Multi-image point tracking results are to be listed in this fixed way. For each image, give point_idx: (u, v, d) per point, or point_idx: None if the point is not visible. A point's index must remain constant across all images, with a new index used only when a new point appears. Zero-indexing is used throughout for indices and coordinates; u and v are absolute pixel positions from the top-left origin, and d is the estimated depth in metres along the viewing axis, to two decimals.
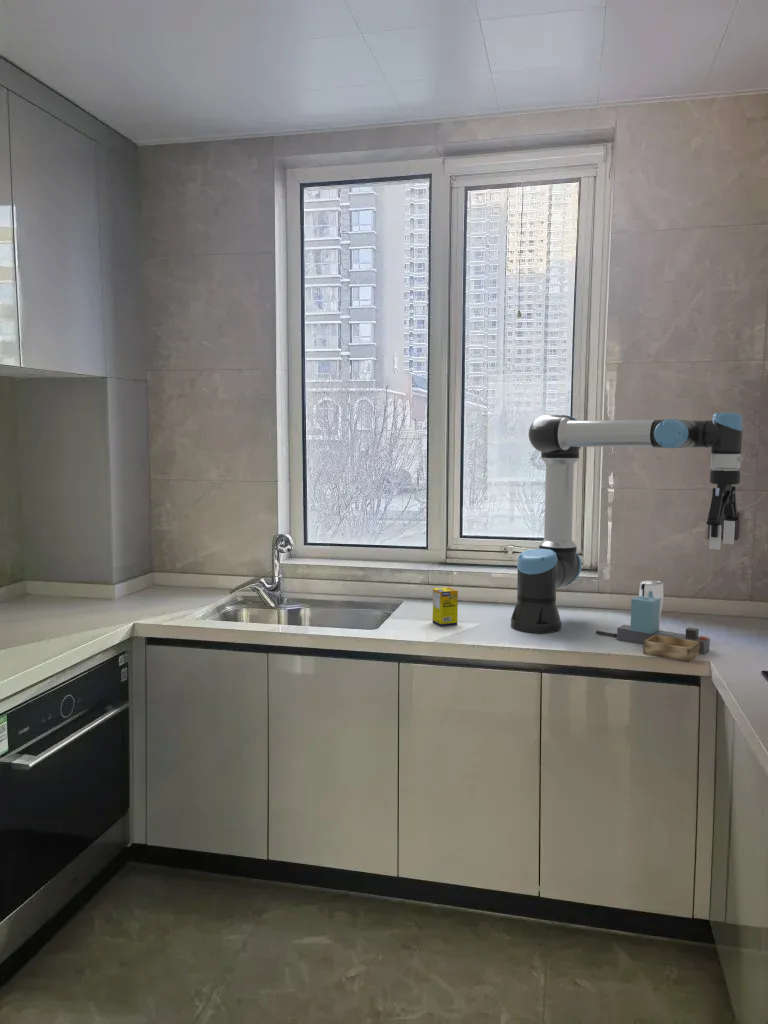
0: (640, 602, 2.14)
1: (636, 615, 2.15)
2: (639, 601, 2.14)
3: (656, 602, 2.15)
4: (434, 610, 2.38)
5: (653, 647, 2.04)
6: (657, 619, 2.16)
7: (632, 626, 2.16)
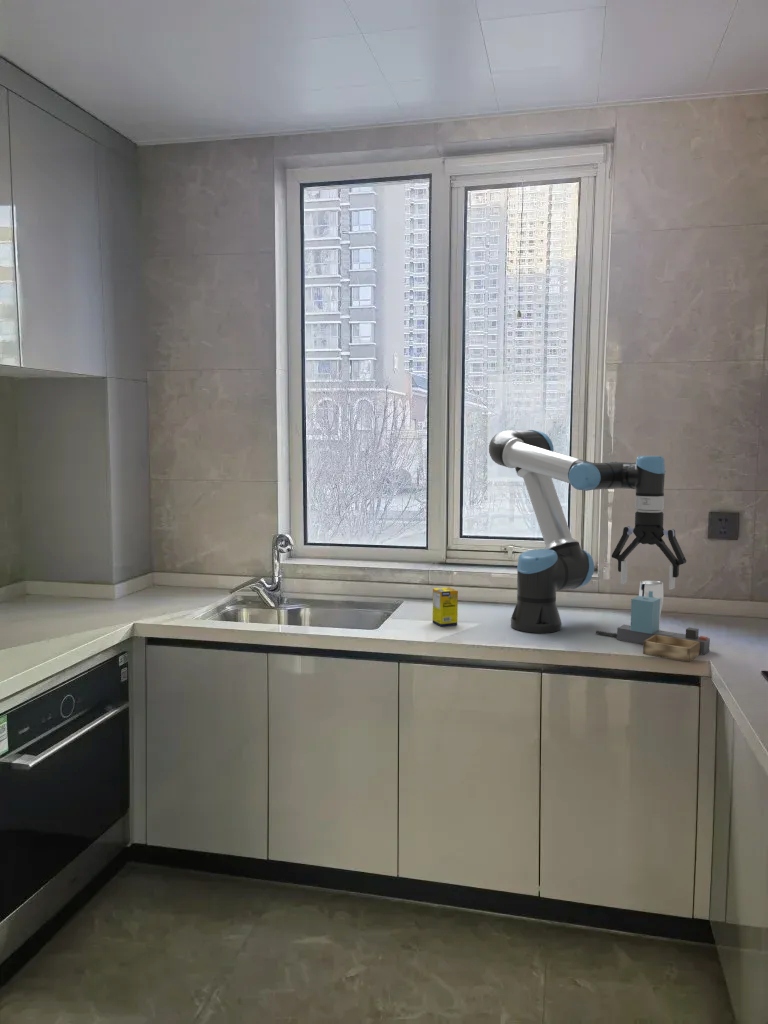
0: (640, 602, 2.14)
1: (636, 615, 2.15)
2: (639, 601, 2.14)
3: (656, 602, 2.15)
4: (434, 610, 2.38)
5: (653, 647, 2.04)
6: (657, 619, 2.16)
7: (632, 626, 2.16)
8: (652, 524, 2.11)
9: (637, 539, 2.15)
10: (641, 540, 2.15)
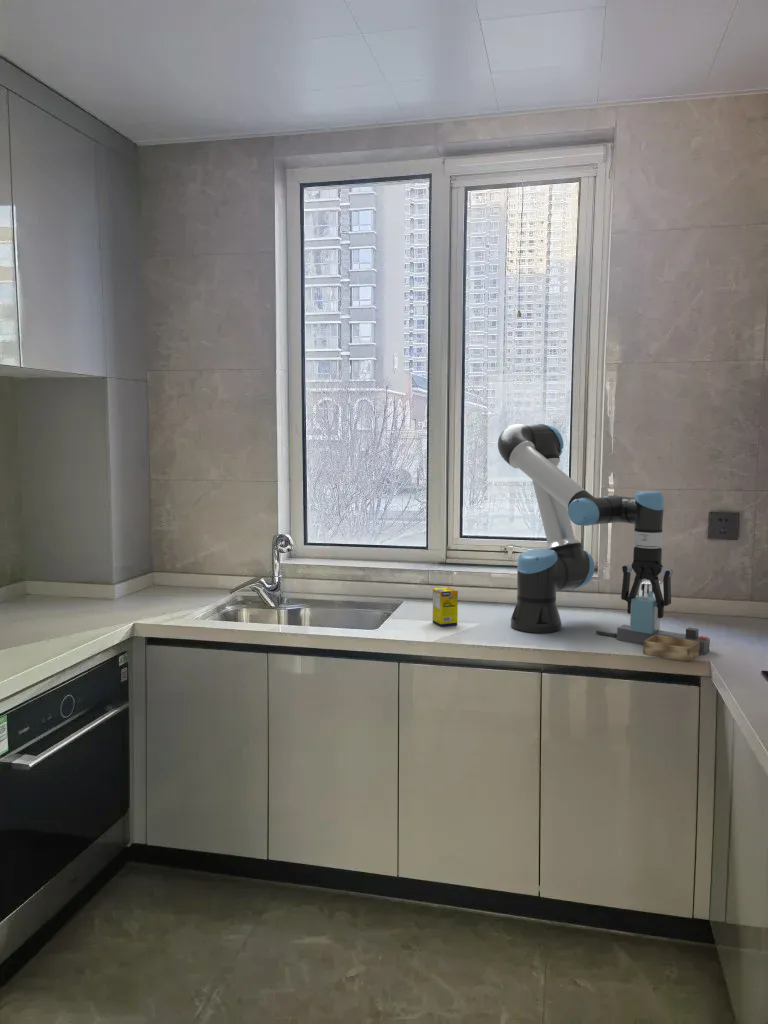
0: (640, 602, 2.14)
1: (636, 615, 2.15)
2: (639, 601, 2.15)
3: (656, 602, 2.15)
4: (434, 610, 2.38)
5: (653, 647, 2.04)
6: None
7: (632, 626, 2.16)
8: (650, 560, 2.12)
9: (638, 575, 2.15)
10: (642, 575, 2.15)
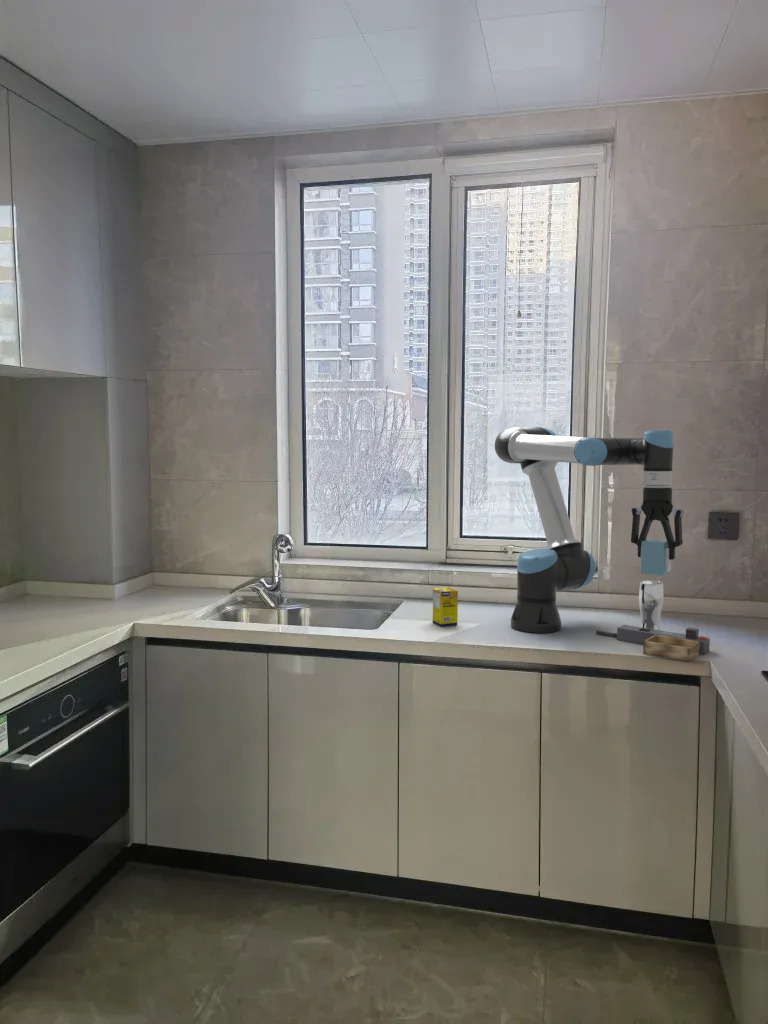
0: (651, 544, 2.09)
1: (646, 557, 2.10)
2: (650, 543, 2.09)
3: (667, 544, 2.10)
4: (434, 610, 2.38)
5: (653, 647, 2.04)
6: None
7: (643, 569, 2.11)
8: (661, 499, 2.07)
9: (648, 517, 2.10)
10: (652, 516, 2.10)
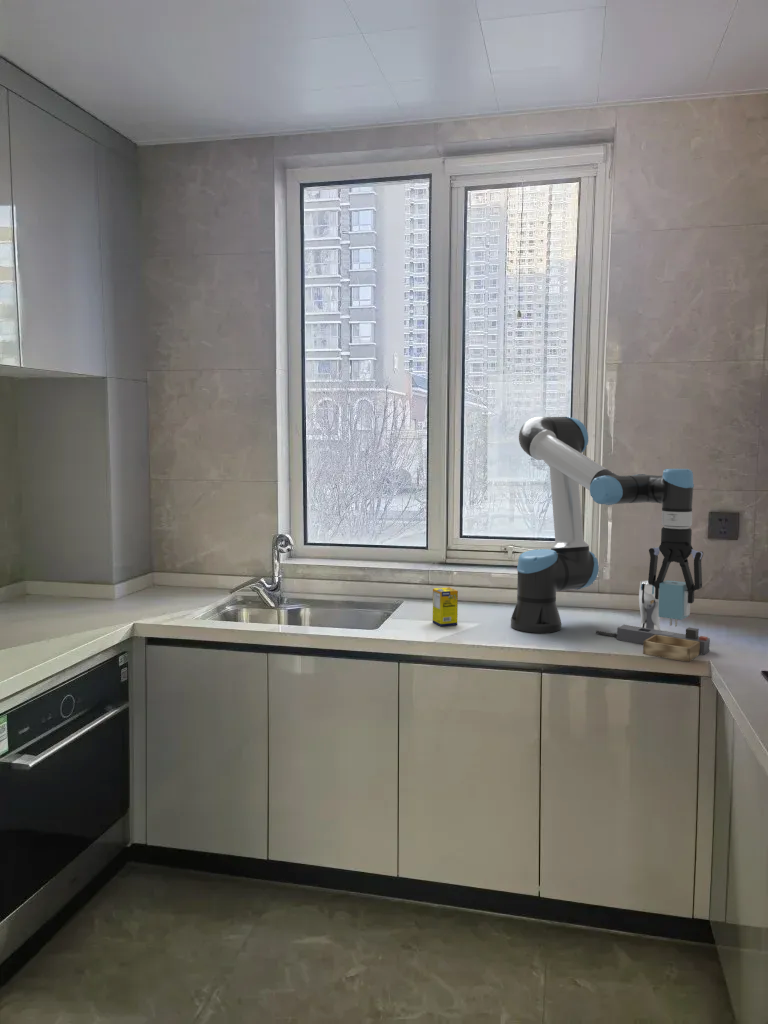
0: (669, 586, 2.01)
1: (664, 600, 2.02)
2: (668, 585, 2.02)
3: (686, 586, 2.02)
4: (434, 610, 2.38)
5: (653, 647, 2.04)
6: None
7: (660, 612, 2.03)
8: (680, 541, 1.99)
9: (666, 558, 2.03)
10: (670, 558, 2.03)
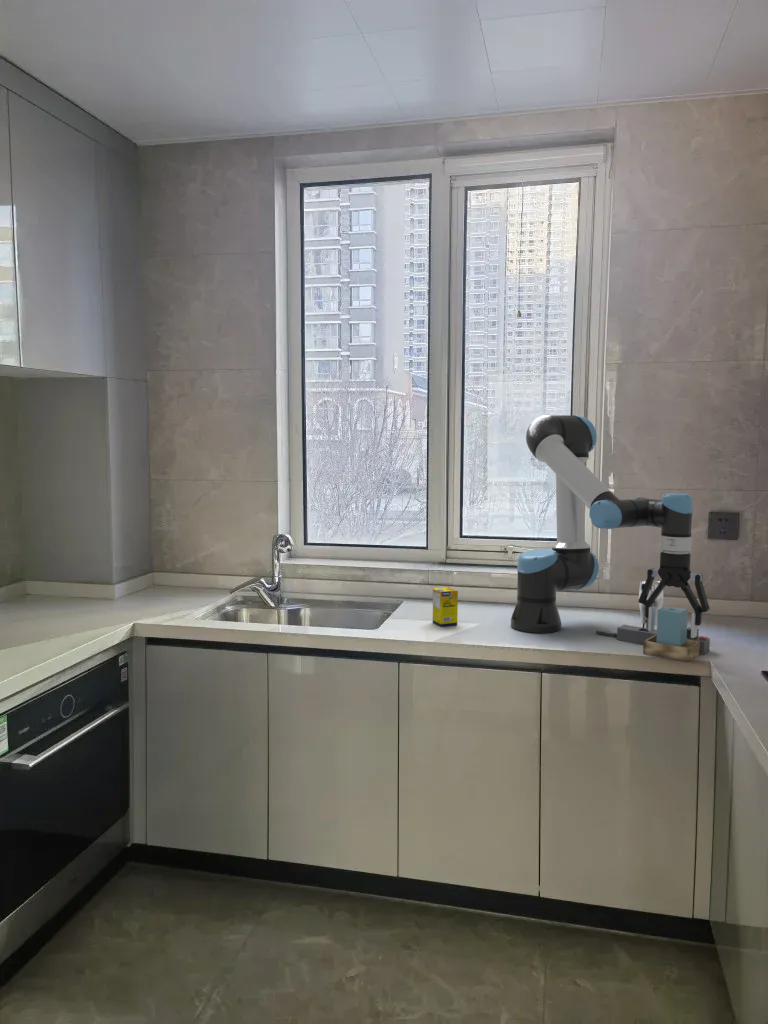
0: (667, 613, 2.02)
1: (662, 626, 2.03)
2: (666, 612, 2.03)
3: (684, 613, 2.03)
4: (434, 610, 2.38)
5: (653, 647, 2.04)
6: (685, 631, 2.04)
7: (658, 638, 2.04)
8: (679, 566, 2.00)
9: (663, 582, 2.04)
10: (667, 582, 2.04)
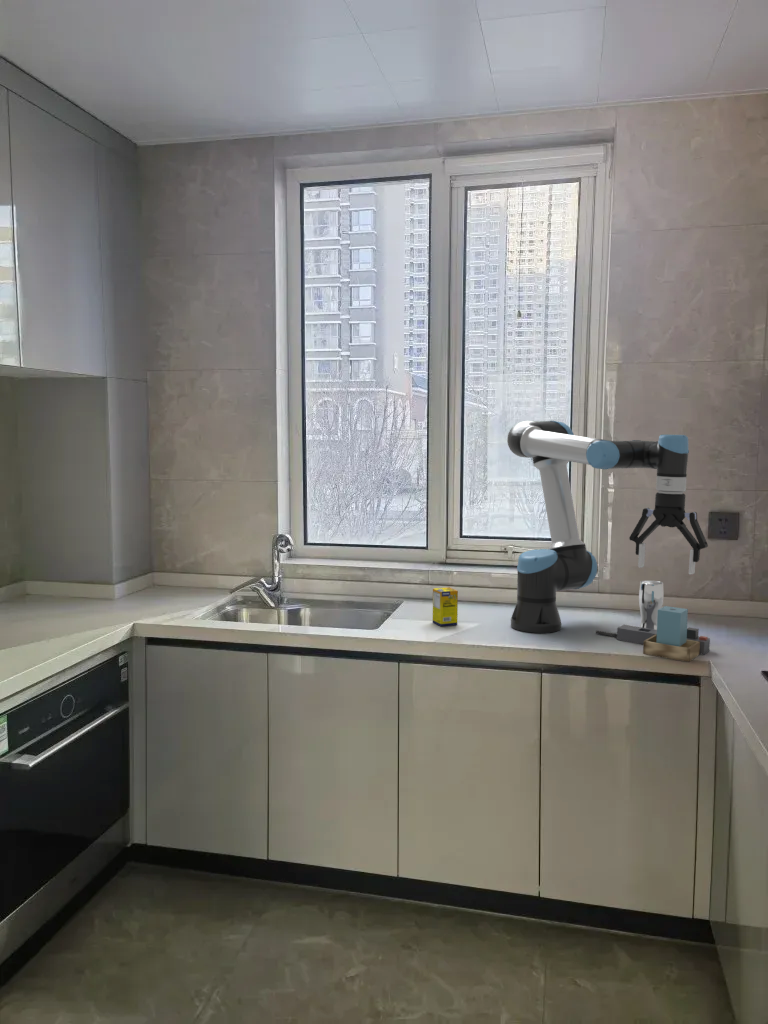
0: (667, 613, 2.02)
1: (662, 626, 2.03)
2: (666, 612, 2.03)
3: (684, 613, 2.03)
4: (434, 610, 2.38)
5: (653, 647, 2.04)
6: (685, 631, 2.04)
7: (658, 638, 2.04)
8: (673, 506, 2.02)
9: (657, 521, 2.06)
10: (661, 522, 2.06)
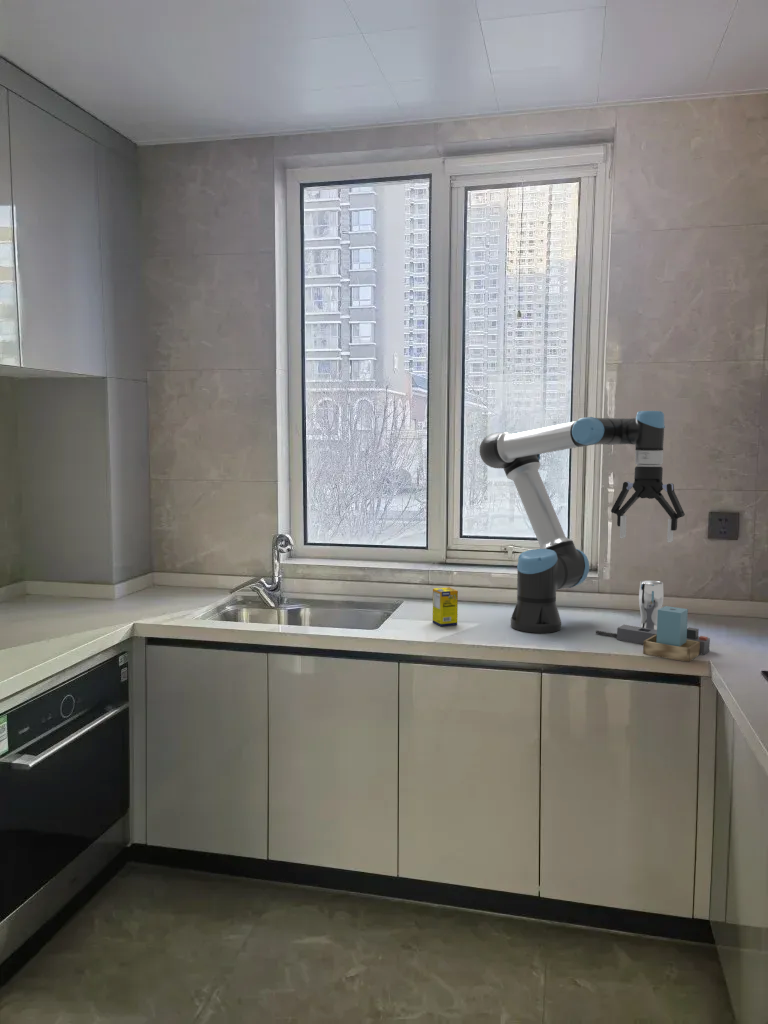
0: (667, 613, 2.02)
1: (662, 626, 2.03)
2: (666, 612, 2.03)
3: (684, 613, 2.03)
4: (434, 610, 2.38)
5: (653, 647, 2.04)
6: (685, 631, 2.04)
7: (658, 638, 2.04)
8: (651, 478, 2.14)
9: (636, 493, 2.18)
10: (640, 494, 2.18)
